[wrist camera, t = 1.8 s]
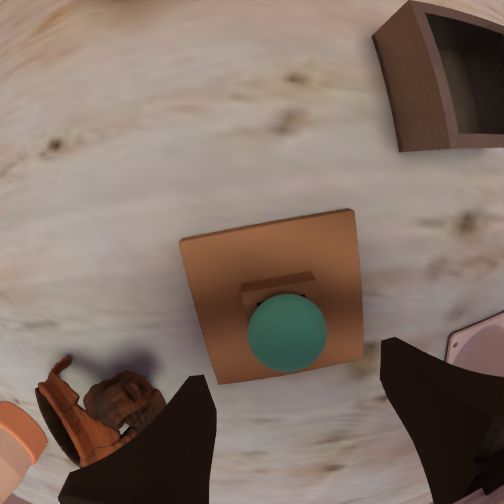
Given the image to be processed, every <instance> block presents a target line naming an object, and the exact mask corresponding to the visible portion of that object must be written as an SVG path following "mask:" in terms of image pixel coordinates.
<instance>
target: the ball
mask: <svg viewBox="0 0 504 504" xmlns="http://www.w3.org/2000/svg"><path fill="white" fill-rule="evenodd" d="M326 340H327V325H326V321H325V319H324V316H323V314H322V312H321V311H320V310H319V308H318V307H317V306H316V305H315V304H314V303H313V302H311V301H310V300H308V299H307V298H305V297H302V296H299V295H295V294H281V295H277V296H274V297H271V298H269V299H267V300H266V301H264V302H263V303H262V304H261V305H260V306H259V307H258V308H257V309H256V310H255V312H254V313H253V315H252V317H251V319H250V322H249V326H248V342H249V346H250V348H251V350H252V352H253V354H254V356H255V357H256V358H257V359H258V360H259V362H261V363H262V364H263V365H265V366H266V367H268V368H270V369H272V370H275V371H279V372H295V371H299V370H302V369H304V368H306V367H308V366H309V365H311V364H312V363H313V362H314V361H315V360H316V359H317V358H318V357H319V356H320V354H321V353H322V351H323V349H324V347H325V344H326Z"/></svg>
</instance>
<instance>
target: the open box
mask: <svg viewBox="0 0 504 504" xmlns="http://www.w3.org/2000/svg"><path fill="white" fill-rule="evenodd" d="M372 38H373V41H374V44H375V48H376V51H377V54H378V58H379V61H380V65H381V68H382V72H383V76H384V79H385V83H386V87H387V92H388V96H389V100H390V105H391V109H392V114H393V119H394V124H395V129H396V134H397V140H398V146H399V152H410V151H424V150H440V149H463V148H504V26H502V25H499V24H497V23H494V22H491V21H488V20H485V19H483V18H480V17H477V16H473V15H470V14H467V13H464V12H460V11H457V10H453V9H449V8H445V7H441V6H437V5H433V4H428V3H423V2H418V1H413V0H408V1H407V2H406V3H405V4H404V5H403V6H402V7H401V8H400V9H399V10H398V11H397V12H396V13H395V14H394V15H393V16H392V17H391V18H390V19H389V20H388V21H387V22H386V23H385V24H384V25H383V26H382V27H381V28H380V29H379V30H378V31H377V32H376V33H375V34H374V35H373V36H372Z"/></svg>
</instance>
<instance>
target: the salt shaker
mask: <svg viewBox="0 0 504 504" xmlns="http://www.w3.org/2000/svg"><path fill="white" fill-rule="evenodd" d="M46 445H47V438H46V436H45V434H44V432H43V431H42V429H41V428H40V427H39V425H38V424H37V423H36V422H35V421H34V420H33V419H32V418H31V417H30V416H29V415H28V414H27V413H25V412H24V411H23V410H22V409H20V408H19V407H17V406H16V405H14V404H12V403H9V402H2V403H1V404H0V504H3V502H4V501H5V500H6V498H7V497H8V496H9V495H10V494H11V493H12V492H13V491H14V490H15V489H16V487H17V486H18V485H19V484H20V483H21V481H22V479H23V478H24V476H25V474H26V472H27V470H28V468H29V466H30V465H33V464H35V463H36V461H37V460H38V458H39V456H40V455H41V453H42V451H43V450H44V448H45V447H46Z"/></svg>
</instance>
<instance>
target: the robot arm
mask: <svg viewBox="0 0 504 504" xmlns="http://www.w3.org/2000/svg"><path fill="white" fill-rule="evenodd" d="M454 343H455V344H454ZM380 380H381V383H382V385H383V388H384V390H385V393H386V395H387V397H388V399H389V401H390V403H391V404H392V406H393V408H394V409H395V411H396V413H397V414H398V416H399V418H400V419H401V421H402V423H403V424H404V426H405V428H406V429H407V431H408V433H409V435H410V437H411V439H412V440H413V443H414V445H415V447H416V450H417V452H418V455H419V457H420V460H421V463H422V466H423V468H424V471H425V474H426V477H427V480H428V484H429V487H430V490H431V494H432V498H433V502H434V504H504V312H503V313H501V314H499V315H496V316H494V317H492V318H490V319H487V320H485V321H483V322H480V323H478V324H476V325H473V326H471V327H468V328H466V329H463V330H461V331H458V332H456V333H454V334H452V335H451V337H450V339H449V346H448V352H447V358H446V362H445V361H442V360H440V359H438V358H436V357H433V356H431V355H429V354H427V353H425V352H423V351H421V350H419V349H417V348H415V347H414V346H412V345H410V344H408V343H406V342H404V341H402V340H400V339H398V338H396V337H392V338H389V339H385V340H382V341H381V366H380ZM216 425H217V410H216V408H215V405H214V402H213V399H212V397H211V394H210V391H209V388H208V385H207V382H206V379H205V377H204V375H197V376H189V377H188V379H187V380H186V381H185V382H184V384H183V385H182V386H181V388H180V389H179V390H178V391H177V393H176V394H175V395H174V397H173V398H172V399H171V400H170V401H169V403H168V404H167V405H166V406H165V408H164V409H163V410H162V411H161V412H160V413H159V414H158V415H157V416H156V417H155V418H154V420H153V421H152V422H151V423H150V424H149V425H148V426H147V427H146V428H144V429H143V430H142V431H141V432H140V433H139V434H138V435H136V436H135V437H134V438H133V439H131V440H130V441H129V442H127V443H126V444H124V445H123V446H122V447H120V448H119V449H117V450H116V451H114V452H113V453H111V454H109V455H108V456H106V457H104V458H102V459H100V460H98V461H96V462H94V463H92V464H90V465H88V466H85V467H83V468H80V469H78V470H76V471H73V472H70V473H69V475H68V477H67V479H66V481H65V483H64V485H63V487H62V490H61V492H60V494H59V496H58V500H59V502H60V504H209V480H210V471H211V464H212V458H213V451H214V444H215V437H216Z"/></svg>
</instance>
